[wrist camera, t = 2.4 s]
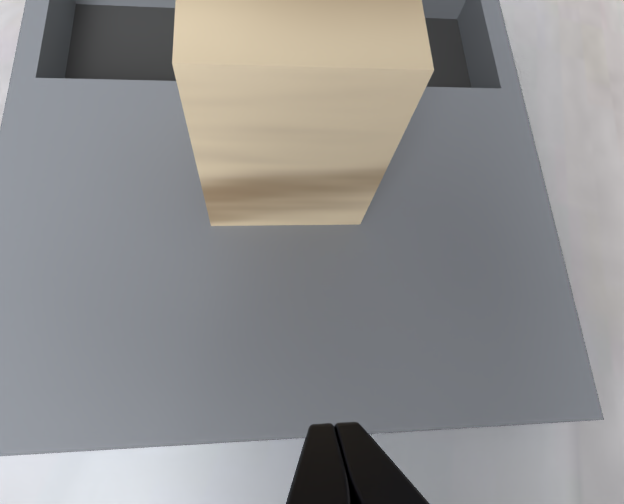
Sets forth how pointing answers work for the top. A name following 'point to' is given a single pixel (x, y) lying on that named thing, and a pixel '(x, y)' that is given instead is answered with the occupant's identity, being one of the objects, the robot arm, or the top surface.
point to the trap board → (268, 259)
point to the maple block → (297, 102)
